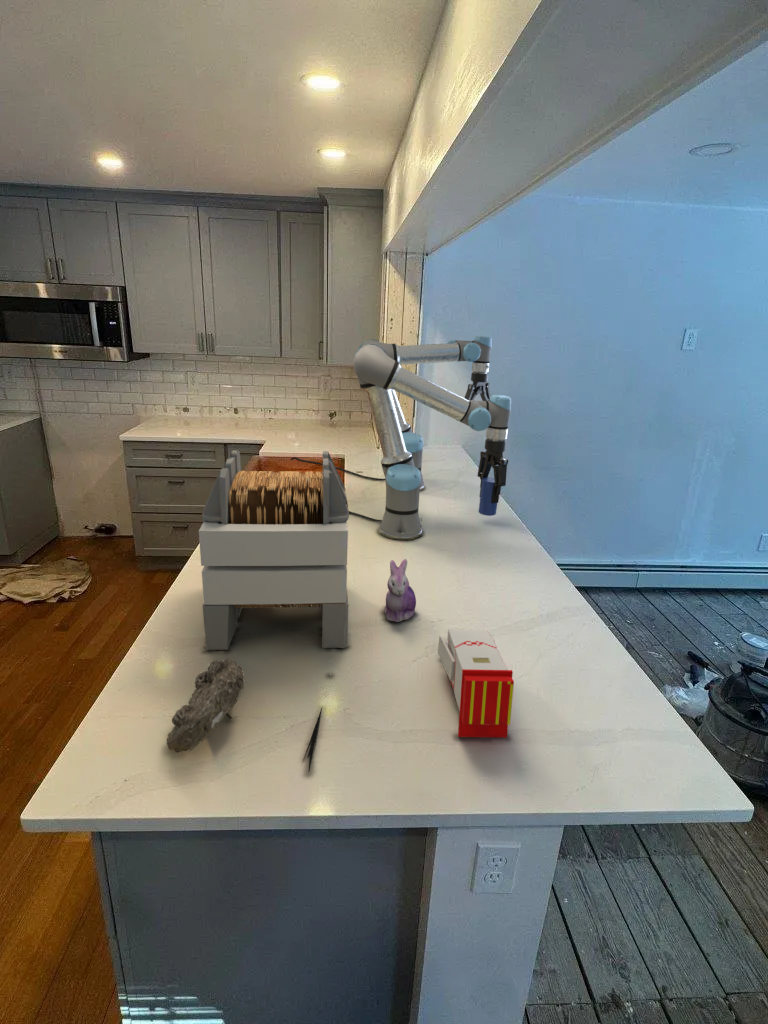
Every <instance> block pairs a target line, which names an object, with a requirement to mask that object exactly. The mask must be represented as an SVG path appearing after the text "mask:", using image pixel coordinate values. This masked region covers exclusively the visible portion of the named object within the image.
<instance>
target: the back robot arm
mask: <svg viewBox="0 0 768 1024" xmlns="http://www.w3.org/2000/svg"><path fill="white" fill-rule="evenodd" d="M492 341H493V340H492V337H491V336H481V335H480V336H479V335H476V336H475V337H474V339H473V340H460V339H451V340H448V342H447V343H429V344H410V345H409V344H408V345H398V344H397V343H386V342H380V341H379V340H377V339H371V338H370V339H367V340H365V341H363V342H361V344H360V345H359V346H358V349H359V348H361V347H362V346H364V345H366V344H376V345H379V346H380V347H382V348H383V349H384V350H385V352H386V354H387V356H389V357H390V358H392V359H393V360H395V361H397V362H399V363H400V365H401V366H404V365H418V364H421V365H422V364H438V363H453V362H468V363H471V375H470V381H471V382H472V383H469V384H468V385H467V389H466V392H465V395H464V398H465V399H467V400H475V398H476V397H477V396H478V395H479V396H480V398H481V401H489V400H490V397H491V396H492V395H491V391H490V382H488V381H489V371H490V363H491V362H490V361H491V353H492ZM391 392H392V396H393V400H394V404H395V408H396V411H397V415H398V419H399V423H400V427H401V431H402V435H403V439H404V443H405V447H406V450H407V451H408V452H410V453H411V454H412V458H413V462H414V466H415V467H416V468H417V469H418V470H419V471H420V474H421V482H420V492H421V491H423V490H424V489H425V481H424V476H423V473H422V468H423V467H422V466H423V465H422V464H423V451H424V445H425V444H424V438H423V436H422V435H420V434H418V433H415V432H413V429H412V426H411V424H410V423H409V422H406V419H405V416H404V413H403V410H402V407H401V405H400V401H399V398H398V394H397V391H395V390H393V389H391ZM293 460H297V461H298V462H301V463H306V464H307V463H308V464H313V465H319V466H323V462H317V461H312V460H306V459H300V458H299V457H296V456H293V457H291V458H290V461H293ZM335 467H336V469H337V471H338V470H339V471H341V472H344V473H348V474H350V475H353V476H357V477H360V478H362V479H367V480H372V481H382V482H383V481H384V482H386V480H385V478H381V477H371V476H366V475H363V474H359V473H356V472H353V471H351V470H348V469H345V468H342V467H338V466H335Z"/></svg>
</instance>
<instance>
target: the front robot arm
mask: <svg viewBox="0 0 768 1024" xmlns="http://www.w3.org/2000/svg"><path fill="white" fill-rule="evenodd" d="M352 366H353V370H354V372H355V375H356V376H357V381H358V383H359V387H360V389H361V390H362V391H364V392H365V393H366V396H367V401H368V405H369V408H370V411H371V415H372V419H373V422H374V427H375V430H376V434H377V439H378V441H379V444H380V448H381V452H382V458H381V460H380V464H381V468H382V471H383V472H382V473H383V476H384V479H385V480H386V481H385V504H384V505H385V507H384V508H385V509H384V513H383V515H382V519H376V518H373V517H370V516H367V515H364V514H361V513H356V512H354V511H351V510H349V515H354V516H357V517H361V518H364V519H367V520H369V521H373V522H375V523H376V522H378V523H379V525H378V533H379V534H380V535H381V536H382V537H385V538H387V539H389V540H395V541H410V540H415V539H418V538H420V537H421V536H422V535H423V525H422V524H421V522H422V521H423V516H420V515H419V507H420V506H419V505H420V504H419V503H420V492H421V491H420V482H421V474H420V471H419V470H418V469H417V468H416V467H415V466H414V462H413V458H412V454H411V453H410V452H408V451H407V450H406V447H405V443H404V439H403V435H402V431H401V427H400V423H399V419H398V415H397V411H396V408H395V404H394V400H393V396H392V392H391V389H393V390H395V392H396V393H399V394H401V395H402V396H406V397H408V398H409V399H412V400H414V401H416V402H417V403H420V404H422V405H424V406H426V407H429V408H431V409H433V410H435V411H437V412H439V413H441V414H443V415H445V416H447V417H450V418H452V419H454V420H455V421H457V422H460V423H461V424H464V425H466V426H467V427H469V428H470V429H471V430H473V431H476V432H483V431H485V430H486V431H485V441H484V449H485V450H484V451H482V450H481V451H480V452H479V455H480V456H479V463H478V469H477V477H478V478H479V479H480V485H479V488H480V490H479V496H480V495H481V487H482V479H483V478H486V477H489V475H490V472H491V469H493V478H494V480H495V485H493V492H492V500H491V503H497V504H498V503H499V499H500V496H501V492H502V491H501V490H502V487H506V484H507V472H508V471H507V470H508V464H509V459H508V458H506V459H505V458H504V452H505V451H506V449H507V439H508V434H509V433H508V432H509V425H510V417H511V412H512V399H511V397H510V396H507V395H502V394H492V395H490V396H491V397H490V400H489V401H482V400H476V399H474V400H467V399H465V397H463V396H460V395H458V394H457V393H455V392H452V391H451V390H449V389H446V388H445V387H443V386H440V385H439V384H436V383H435V382H432V381H430V380H428V379H426V378H424V377H423V376H420V375H418V374H417V373H414V372H413V371H411V370H408V369H406V368H404V367H402V365H400V363H399V362H397V361H395V360H393V359H392V358H390V357H389V356H387V354H386V352H385V350H384V349H383V348H382V347H380V346H379V345H376V344H366V345H364V346H362V347H361V348H359V347H358V349H357V350H356V352H355V354H354V357H353V362H352Z"/></svg>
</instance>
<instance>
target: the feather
mask: <svg viewBox="0 0 768 1024" xmlns="http://www.w3.org/2000/svg"><path fill="white" fill-rule="evenodd" d="M329 675H330V676H331V675H332V674H331V673H330V674H329ZM322 710H323V707H321V708H320V710H319V713H318V716H317V719H316V723H315V725H314V728H313V731H312V733H311V737H310V739H309V742H308V745H307V748H306V751H305V754H304V757H303V760H302V763H301V767H302V765H303V763H304V761H305V758H308V759H309V760H308V762H307V763H308V764H307V766H308V771H310V770H311V766H312V765H311V764H312V760H313V757H315V756H314V755H315V751H316V749H315V746H317V739H318V733H319V729H320V722H321V717H322V712H323V711H322ZM313 754H314V755H313ZM306 755H307V757H306Z"/></svg>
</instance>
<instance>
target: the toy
mask: <svg viewBox="0 0 768 1024" xmlns="http://www.w3.org/2000/svg"><path fill="white" fill-rule="evenodd" d="M446 640H447V643H446V641H445V639H444V636H443V635H442V634H439V637H438V646H437V656H438V657H439V659H440V661H441V663H442V666H443V668H444V670H445V672H446V674H447V677H448V679H449V681H450V684H451V687H452V690H453V693H454V697H455V701H456V705H457V708H458V711H459V714H458V715H459V716H458V730H457V731H458V732H457V737H458V738H508V731H509V726H510V725H511V717H512V707H513V697H514V696H513V695H514V684H515V680H514V679H513V673H514V671H513V670H512V669H508V667H507V665H506V662H505V661H504V659H503V658H502V655H501V653H500V651H499V649H498V647H497V643H496V639H495V637H494V635H493V634H491V632H490V631H489V629H467V628H466V629H465V628H463V629H461V628H460V629H459V628H448V630H447V639H446Z"/></svg>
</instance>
